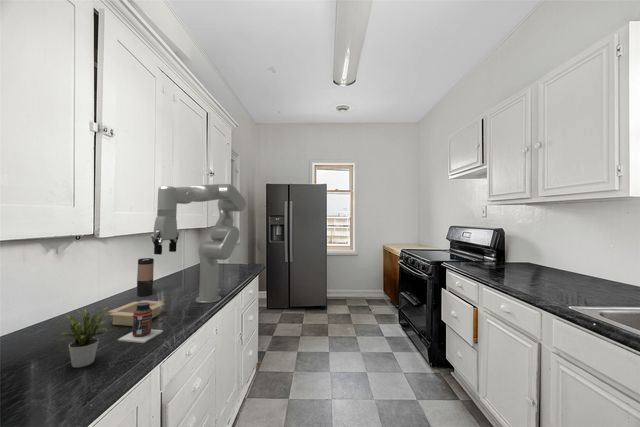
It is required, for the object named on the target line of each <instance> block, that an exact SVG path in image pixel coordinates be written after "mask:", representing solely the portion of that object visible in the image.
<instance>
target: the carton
mask: <svg viewBox="0 0 640 427" xmlns="http://www.w3.org/2000/svg"><path fill="white" fill-rule="evenodd" d="M143 302H148V303H150V306H149V307H150V308H151V309H152V319H154V318H155V317H156V318H157V316H159V315H160V314H161V307H162V306H164V305H166V303H164V301H161V300H160V301H159V300H140V301H132V302H129V303H126V304H125V305H121V306H119V307H116V308H114V309H111V310H108V311H107V313H108V315H107V316H112V325H114V326H115V325H117V326H129V327H133V314H134V311H135V310H136V309H137V304H139V303H143ZM109 312H110V313H112V314H109ZM114 312H116V313H114Z"/></svg>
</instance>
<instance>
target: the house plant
mask: <svg viewBox="0 0 640 427" xmlns="http://www.w3.org/2000/svg"><path fill="white" fill-rule="evenodd" d="M108 308H110V306H106V307H105V308H102V309H100V310H99V311H98V312H97V313H95V314H94V315H93V317H91V316H90V312H89V310H87V308H84V313H83V312H82V311H79V310H77V309H76V312H78V313H79V314H80V316H81V318H82V322H83V327H82V325H81V323H80V322H78V320H77V319H76V318H75V317H73V316H71V315H70V314H64V315H65V316H66V317H67V318H68V319H69V320H70V324H69V325H68V324H66V323H65V325H66V326H68V327H69V328H70V329H68V331H69V332H70V331H71V333H69V332H60V333H59V334H61V335H64V336H67V337H64V338H63V337H62V338H61V339H59V342H60V341H65V340H66V341H72V342H70V343H69V344H68V351H69V356H70V363H71V367H72V368H82V367H83V368H84V367H86V366H89V365H91V364H93V363H94V362H95V358H96V353H97V351H98V347H99V346H98V345H99V341H100V339H99V338H98V337H95V336H98V335H99V336H100V335H105V333H104V332H102V331H107V332H108V329H107V328H106V327H103V328H100V327H101V326H102V325H103V324H104V323H105V322H106V320H103V319H104V318H105V317H106V316H109V315H108V314H112V313H110V312H107V313H104V314H103V315H102V316H100V315H101V314H102V313H103V312H104V311H105V310H106V309H108ZM114 313H116V312H114ZM90 317H91V318H90ZM99 317H100V318H99ZM90 319H91V321H90ZM102 320H103V321H102ZM101 321H102V322H101ZM58 323H61V324H62V322H61V321H58ZM99 328H100V329H99ZM69 337H71V338H69ZM72 338H73V339H74V340H73V339H72Z"/></svg>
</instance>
